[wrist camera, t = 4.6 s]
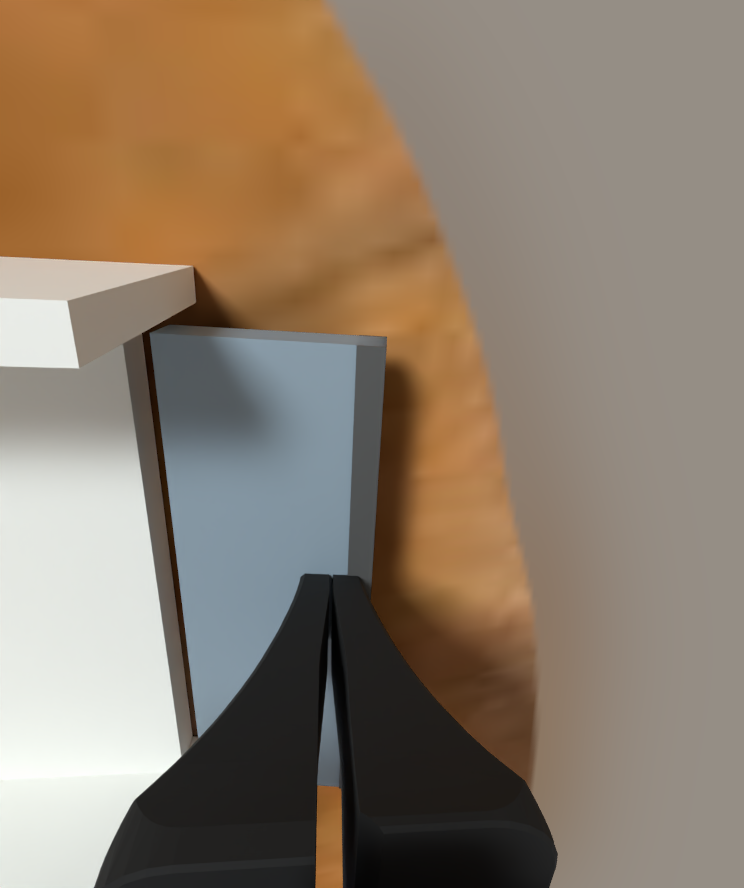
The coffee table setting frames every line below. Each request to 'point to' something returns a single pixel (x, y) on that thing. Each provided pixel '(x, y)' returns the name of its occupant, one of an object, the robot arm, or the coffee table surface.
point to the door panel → (265, 489)
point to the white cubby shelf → (82, 564)
